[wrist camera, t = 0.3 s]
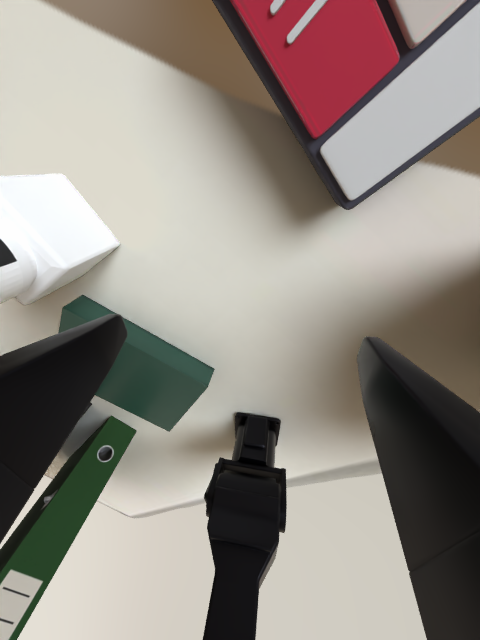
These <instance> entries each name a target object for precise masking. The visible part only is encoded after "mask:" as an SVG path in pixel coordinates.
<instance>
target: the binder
mask: <svg viewBox="0 0 480 640" xmlns="http://www.w3.org/2000/svg"><path fill="white" fill-rule="evenodd" d="M91 405H92V403H89V405H88V406H87V408H86V409H85V411H84V412H83V414H84V413H85V412H86V411H87V409H88V408H89V407H90V406H91ZM83 414H82V415H83ZM81 417H82V416H81ZM81 417H80V418H81ZM135 433H136V430H134V429H133V428H131V427H129V426H128V425H126V424H125V423H123V422H121V421H120V420H118V419H116V418H115V417H113V416H111V417H110V418H109V419H108V420H107V421H106V422H105V423H104V424H103V425H102V426H101V427H100V428H99V429H98V430H97V431H96V432H95V433H94V434H93V435H92V436H91V437H90V438H89V439H88V440H87V441H86V442H85V443H84V444H83V445H82V446H81V447H80V448H79V449H78V450H77V451H76V452H75V453H74V454H73V455H72V456H71V457H70V458H69V459H68V460H67V462H66V463H65V464H64V466H63V467H62V468H61V470H60V471H59V472H58V474H57V475H56V476H55V478H54V479H53V480H52V482H51V483H50V484H49V486H48V487H47V488H46V490H45V491H44V492H43V494H42V495H41V496H40V498H39V499H38V500H37V502H36V503H35V504H34V506H33V507H32V508H31V510H30V511H29V512H28V513H27V515H26V516H25V517H24V519H23V520H22V521H21V523H20V524H19V526H18V527H17V528H16V529H15V531H14V532H13V533H12V535H11V536H10V537H9V539H8V540H7V541H6V543H5V544H4V545H3V547H2V548H1V549H0V640H17V638H18V637H19V635H20V633H21V631H22V630H23V628H24V626H25V624H26V623H27V621H28V619H29V618H30V616H31V614H32V612H33V611H34V609H35V607H36V605H37V604H38V602H39V600H40V598H41V597H42V595H43V593H44V591H45V589H46V588H47V586H48V584H49V583H50V581H51V579H52V577H53V576H54V574H55V572H56V571H57V569H58V567H59V565H60V564H61V562H62V560H63V558H64V557H65V555H66V553H67V551H68V550H69V548H70V546H71V544H72V543H73V541H74V539H75V537H76V535H77V534H78V532H79V530H80V529H81V527H82V525H83V523H84V522H85V520H86V518H87V516H88V515H89V513H90V511H91V509H92V508H93V506H94V504H95V503H96V501H97V499H98V497H99V496H100V494H101V492H102V490H103V489H104V487H105V485H106V483H107V482H108V480H109V478H110V476H111V475H112V473H113V471H114V469H115V468H116V466H117V464H118V463H119V461H120V459H121V457H122V456H123V454H124V452H125V450H126V449H127V447H128V445H129V443H130V442H131V440H132V438H133V436H134V435H135Z"/></svg>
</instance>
